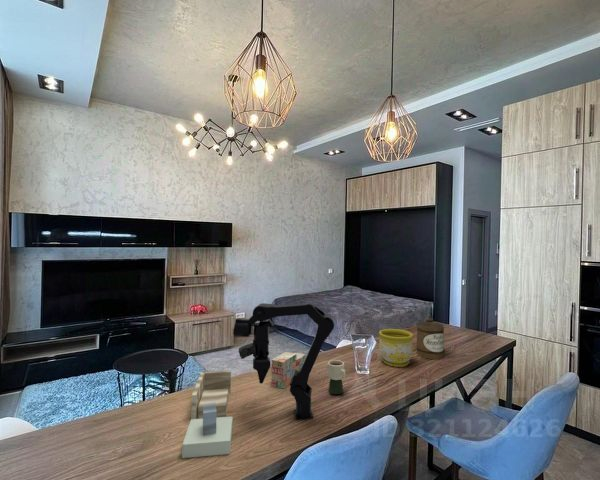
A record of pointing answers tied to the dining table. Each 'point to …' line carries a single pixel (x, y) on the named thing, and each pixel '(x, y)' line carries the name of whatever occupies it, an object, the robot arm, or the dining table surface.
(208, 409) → the slate block
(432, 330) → the wooden container
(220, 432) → the pad
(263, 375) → the robot arm
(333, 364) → the character mug
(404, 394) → the dining table surface
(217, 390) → the beige stepped piece
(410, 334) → the flowerpot
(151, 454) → the dining table surface
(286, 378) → the stack of blocks
